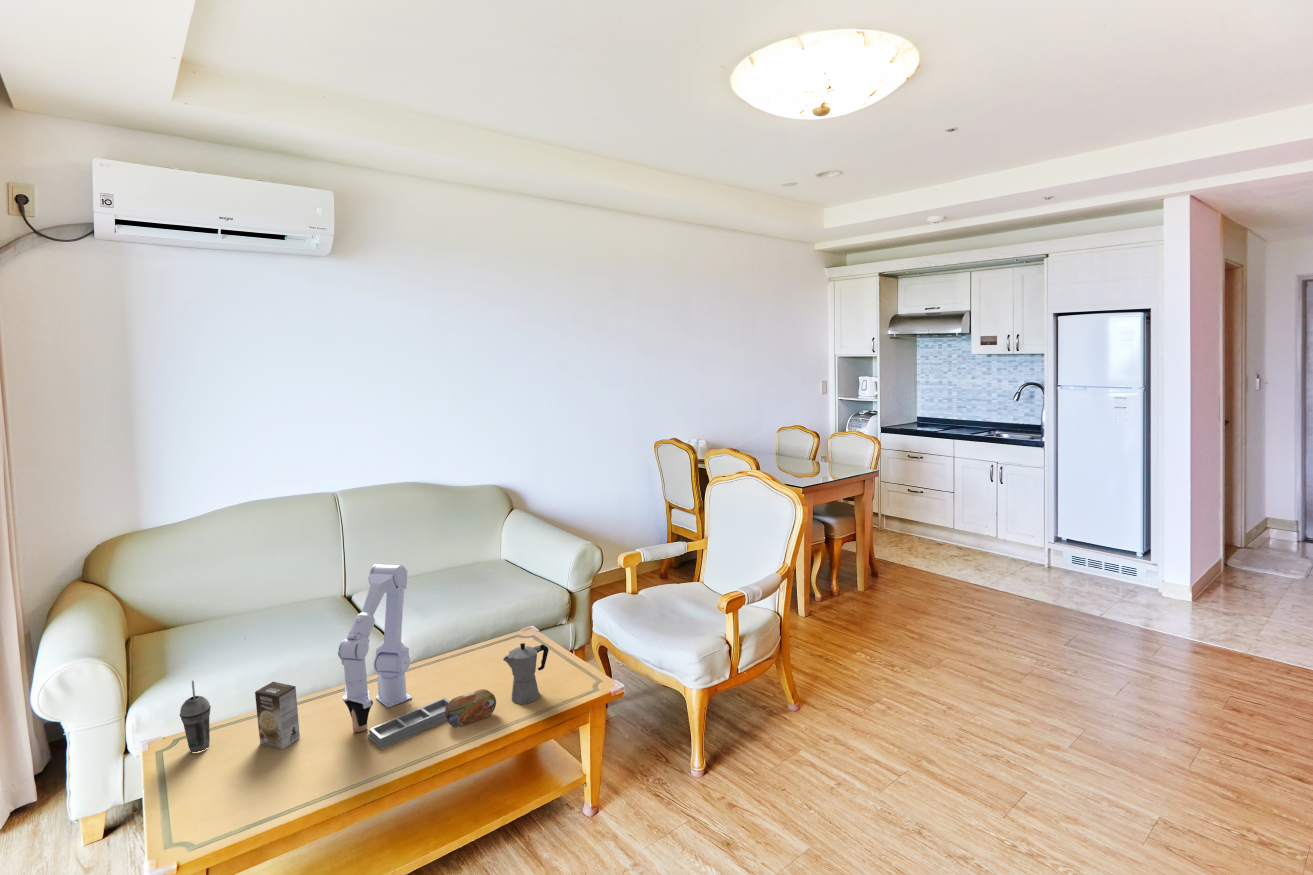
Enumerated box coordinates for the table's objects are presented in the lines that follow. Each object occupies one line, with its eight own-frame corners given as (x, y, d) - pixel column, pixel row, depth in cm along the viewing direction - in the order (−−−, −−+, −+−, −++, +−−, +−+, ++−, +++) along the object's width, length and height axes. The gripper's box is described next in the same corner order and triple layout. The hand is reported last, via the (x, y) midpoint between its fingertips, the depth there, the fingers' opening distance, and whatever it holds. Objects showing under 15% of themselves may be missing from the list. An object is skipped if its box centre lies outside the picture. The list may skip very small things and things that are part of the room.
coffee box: (258, 744, 191) (253, 691, 189) (277, 732, 197) (272, 680, 195) (283, 749, 188) (277, 695, 186) (301, 737, 194) (296, 685, 192)
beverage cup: (182, 759, 184) (173, 691, 182) (186, 746, 191) (178, 680, 188) (213, 751, 187) (205, 684, 185) (216, 739, 194) (209, 673, 192)
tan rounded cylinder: (350, 728, 196) (348, 705, 196) (364, 722, 199) (362, 700, 198) (356, 733, 194) (354, 710, 193) (369, 727, 197) (367, 705, 196)
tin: (447, 730, 195) (445, 703, 194) (444, 725, 198) (442, 699, 197) (497, 714, 203) (495, 688, 202) (493, 710, 206) (492, 684, 205)
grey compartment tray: (368, 737, 193) (367, 727, 192) (444, 704, 210) (443, 696, 209) (381, 749, 186) (380, 739, 186) (459, 714, 204) (458, 706, 203)
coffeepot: (512, 709, 206) (508, 654, 204) (500, 697, 213) (497, 644, 211) (556, 694, 215) (554, 640, 212) (543, 682, 222) (541, 631, 220)
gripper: (332, 675, 197) (336, 718, 198) (351, 691, 187) (355, 737, 188) (356, 667, 202) (360, 709, 203) (376, 682, 192) (380, 726, 193)
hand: (359, 722), depth 196 cm, fingers closed on tan rounded cylinder, 4 cm apart
